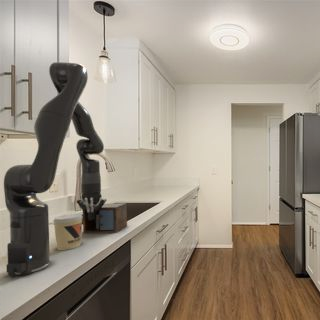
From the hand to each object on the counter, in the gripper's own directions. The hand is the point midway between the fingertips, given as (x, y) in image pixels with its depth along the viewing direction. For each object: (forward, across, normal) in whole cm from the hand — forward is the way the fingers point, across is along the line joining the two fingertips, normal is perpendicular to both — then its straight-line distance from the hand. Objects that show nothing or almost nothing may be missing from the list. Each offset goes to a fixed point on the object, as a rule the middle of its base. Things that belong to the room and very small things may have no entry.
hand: (92, 219), depth 108 cm
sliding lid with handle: (+6, +5, +2) cm, 8 cm away
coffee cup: (+7, -1, -14) cm, 15 cm away
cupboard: (+7, +1, +8) cm, 11 cm away
